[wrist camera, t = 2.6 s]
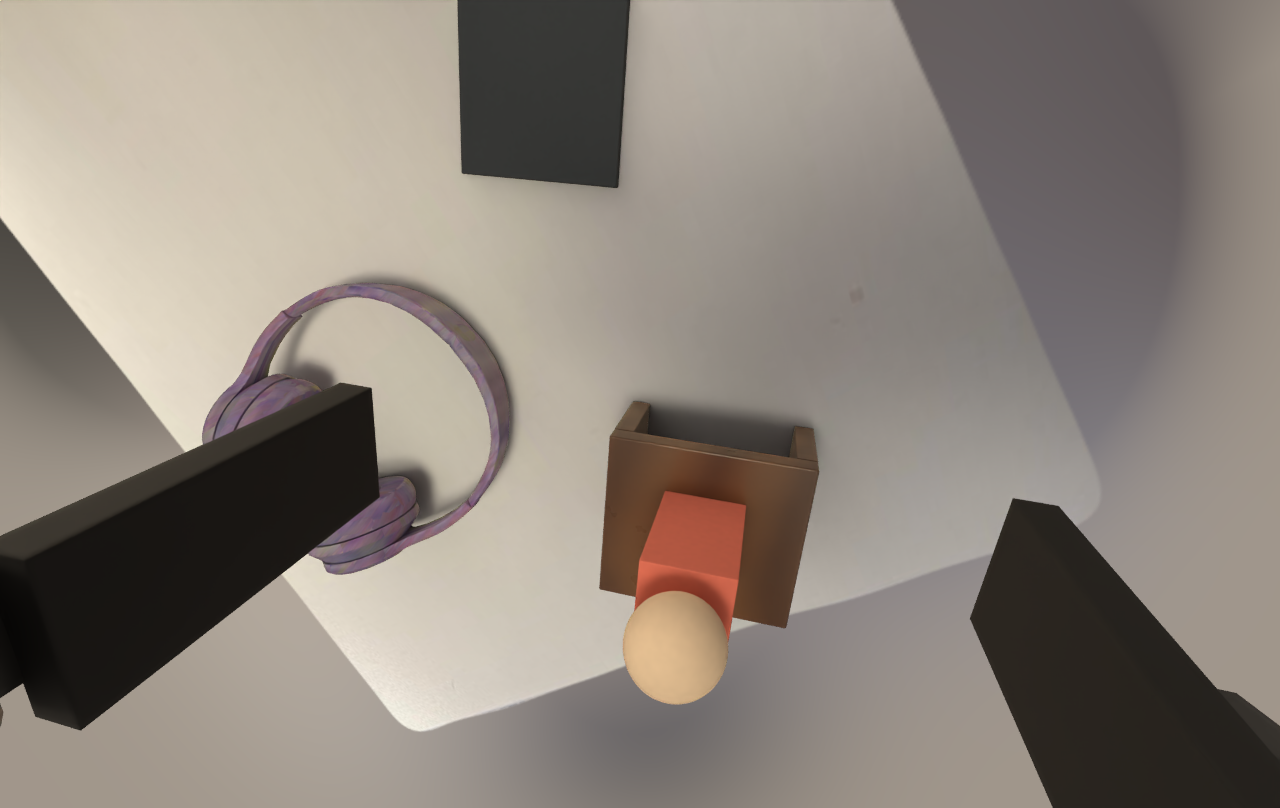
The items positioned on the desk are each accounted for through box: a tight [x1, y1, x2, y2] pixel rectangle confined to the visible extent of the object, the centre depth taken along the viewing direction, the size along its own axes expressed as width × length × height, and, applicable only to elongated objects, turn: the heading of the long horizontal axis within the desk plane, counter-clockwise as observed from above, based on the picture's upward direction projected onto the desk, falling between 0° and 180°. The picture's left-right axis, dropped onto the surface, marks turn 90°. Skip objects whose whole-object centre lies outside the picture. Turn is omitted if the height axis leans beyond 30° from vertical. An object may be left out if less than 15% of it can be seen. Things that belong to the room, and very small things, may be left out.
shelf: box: [599, 401, 819, 628], centre depth 39 cm, size 12×11×6 cm
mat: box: [458, 0, 630, 188], centre depth 35 cm, size 10×10×1 cm
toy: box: [623, 491, 746, 704], centre depth 31 cm, size 5×5×12 cm
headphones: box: [202, 283, 509, 575], centre depth 42 cm, size 18×8×20 cm
